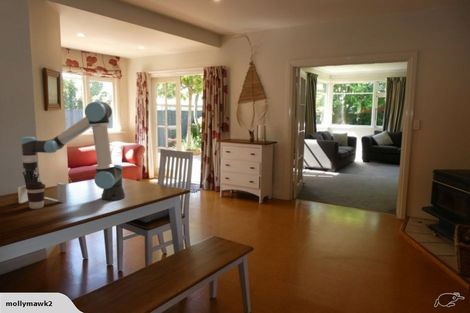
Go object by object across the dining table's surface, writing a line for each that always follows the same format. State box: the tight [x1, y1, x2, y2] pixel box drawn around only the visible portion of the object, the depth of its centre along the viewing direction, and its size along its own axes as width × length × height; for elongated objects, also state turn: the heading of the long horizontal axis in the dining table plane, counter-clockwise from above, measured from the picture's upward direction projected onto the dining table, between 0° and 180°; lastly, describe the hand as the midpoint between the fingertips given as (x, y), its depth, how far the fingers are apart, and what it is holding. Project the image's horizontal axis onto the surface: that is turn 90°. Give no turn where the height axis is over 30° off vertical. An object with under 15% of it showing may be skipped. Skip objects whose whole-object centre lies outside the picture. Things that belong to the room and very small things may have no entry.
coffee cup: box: [26, 181, 46, 210], centre depth 196 cm, size 10×10×15 cm
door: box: [17, 180, 43, 204], centre depth 210 cm, size 17×3×10 cm, turn 167°
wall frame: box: [38, 178, 67, 204], centre depth 214 cm, size 2×30×12 cm, turn 64°
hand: (32, 198), depth 206 cm, fingers closed
